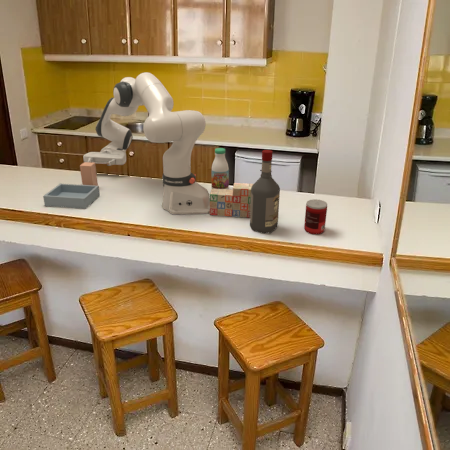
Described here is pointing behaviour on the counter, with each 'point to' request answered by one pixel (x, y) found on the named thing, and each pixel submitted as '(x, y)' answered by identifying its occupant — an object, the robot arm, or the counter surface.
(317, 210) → the canned food
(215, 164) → the milk bottle
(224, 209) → the stack of blocks
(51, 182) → the counter surface
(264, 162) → the liquor
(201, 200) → the robot arm
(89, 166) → the terracotta block
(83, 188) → the tray
